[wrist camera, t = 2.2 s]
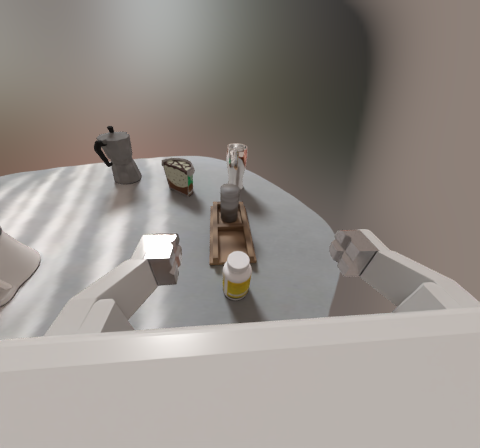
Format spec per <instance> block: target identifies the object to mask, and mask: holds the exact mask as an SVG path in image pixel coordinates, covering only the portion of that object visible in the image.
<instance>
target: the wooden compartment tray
mask: <svg viewBox="0 0 480 448" xmlns="http://www.w3.org/2000/svg"><path fill="white" fill-rule="evenodd" d="M239 191H240V188H239V186H237V185H235V184H224V185H222V186H221V202H213V206H211V217H210V265H221V264H225V263H226V262H227V258H228V256H229V254H230V253H232V252H235V251H241V252H244V253H246V254H247V255H248V257H249V259H250V262H249V263H256V256H255V251H254V247H253V242H252V237H251V232H250V228H249V223H248V218H247V214H246V209H245V206H244V205H243V202H239Z"/></svg>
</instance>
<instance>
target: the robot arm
mask: <svg viewBox="0 0 480 448" xmlns="http://www.w3.org/2000/svg"><path fill="white" fill-rule="evenodd" d="M178 244H179V236H178V234H144V235H143V236H142V238H141V240H140V241H139V243H138V245H137V247H136V249H135V251H134V253H133V255H132V257H131V259H130V260H126V261H124V262H123V263H121V264H120V265H119V266H117V267H116V268H114V269H113V270H111V271H110V272H108V273H107V274H106V275H104V276H103V277H101V278H100V279H98V280H97V281H95V282H94V283H93V284H91V285H90V286H88V287H87V288H85V289H84V290H83V291H81V292H80V293H78V294H77V295H75V296H74V297H72V298H71V299H70V300H69V301H68V302H67V303H66V305H65V306H64V308H63V309H62V311H61V312H60V313H59V315H58V316H57V318H56V319H55V321H54V322H53V323H52V325H51V326H50V328H49V329H48V331H47V332H46V334H45V335H44V336H43V337H29V338H15V339H0V448H480V302H479V301H478V300H476V299H475V298H474V297H473V296H471V295H470V294H469V293H468V292H467V291H466V290H464V289H463V288H462V287H461V286H460V285H459V284H457V283H456V282H455V281H454V280H452V279H450V278H448V277H446V276H444V275H442V274H440V273H438V272H436V271H434V270H432V269H429V268H428V267H425V266H423V265H421V264H419V263H417V262H415V261H413V260H411V259H409V258H407V257H405V256H403V255H401V254H399V253H397V252H395V251H390V250H389V249H388V248H387V247H386V246H385V245H384V244H383V243H382V242H381V241H380V240H379V239H378V238H377V237H376V236H375V235H374V234H373V233H372V232H371V231H370V230H367V229H359V230H339V231H338V232H336V234H335V240H334V241H333V242H331V245H330V247H329V252H330V255H331V257H332V259H333V260H335V261H336V262H338V265H337V267H338V268H339V270H340V271H341V273H342V274H343V276H345V277H346V276H347V277H348V276H360V278H362V279H363V280H364V281H365V282H367V283H368V284H369V285H370V286H372V287H373V288H374V289H376V290H377V291H378V292H379V293H381V294H382V295H383V296H384V297H386V298H387V299H388V300H390V301H391V302H392V303H394V304H395V305H396V306H397V307H396V308H395V309H394V310H393V311H392V313H383V314H368V315H353V316H338V317H324V318H309V319H294V320H279V321H264V322H250V323H235V324H221V325H206V326H191V327H177V328H162V329H147V330H134V329H133V327H132V326H131V324H130V323H129V321H128V320H129V318H130V317H131V316H132V315H133V314H134V313H135V312H136V311H137V310H138V308H139V307H140V306H141V305H142V304H143V303H144V302H145V301H146V299H147V298H148V297H149V296H150V295H151V294H152V293H153V292H154V290H155V289H156V288H157V287H158V286H161V285H174V284H177V280H178V275H179V270H178V267H179V266H180V265H181V261H182V249H181V246H180V245H178ZM39 262H40V254H39V252H38V251H36V250H35V249H33V248H30V247H28V246H26V245H24V244H22V243H20V242H19V241H17V240H16V239H14V238H13V237H11V236H10V235H8V234H7V233H5V232H4V231H3V230H2V229H1V226H0V306H2V305H4V304H5V303H7V302H8V301H9V300H10V299H11V298H12V297H13V296H14V294H15V292H16V291H17V289H18V287H19V286H20V285H21V284H22V283H23V282H24V281H25V280H27V279H28V278H29V277H30V276H31V275H32V273H33V272H34V271H35V270H36V268H37V267H38V265H39Z"/></svg>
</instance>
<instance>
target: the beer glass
mask: <svg viewBox="0 0 480 448" xmlns="http://www.w3.org/2000/svg"><path fill="white" fill-rule="evenodd" d="M227 147H228V148H227V170H228V177H229V179H228V184H235V185H237V186H239V188H240V190H242V189H243V175H244V171H245V168H246V163H247V146H246V145H243V144H238V143H233V144H229V145H228V146H227Z"/></svg>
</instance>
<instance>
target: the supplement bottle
mask: <svg viewBox="0 0 480 448" xmlns="http://www.w3.org/2000/svg"><path fill="white" fill-rule="evenodd" d="M249 262H250V259H249V257H248V255H247V254H246V253H244V252H241V251H235V252H232V253H230V254H229V256H228V258H227V262H226V263H225V264H224V267H223V292H224V294H225V295H226V296H227V297H228V298H229V299H232V300H240V299H242V298H244V297H245V296H246V294H247V292H248V289H249V284H250V278H251V273H252V269H251V265H250V264H249Z"/></svg>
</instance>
